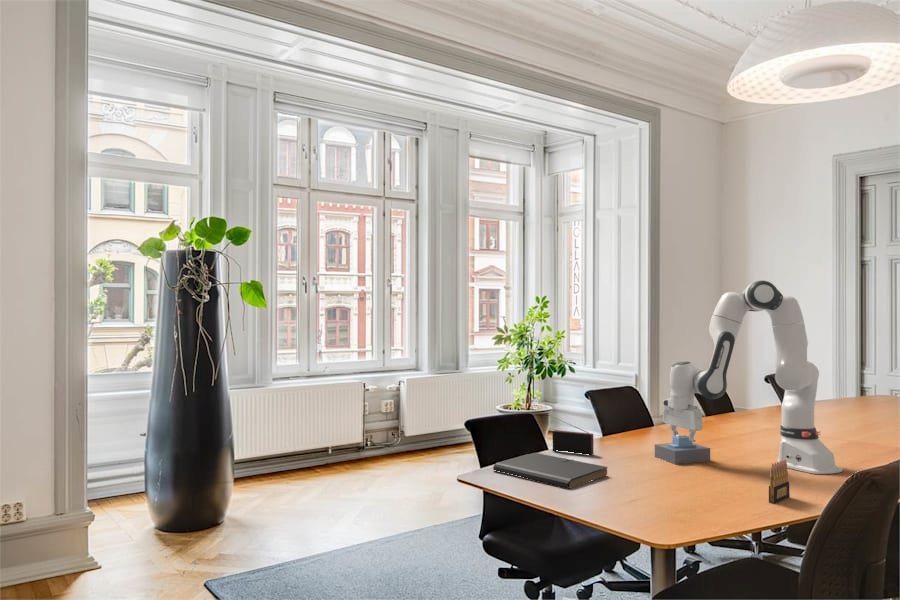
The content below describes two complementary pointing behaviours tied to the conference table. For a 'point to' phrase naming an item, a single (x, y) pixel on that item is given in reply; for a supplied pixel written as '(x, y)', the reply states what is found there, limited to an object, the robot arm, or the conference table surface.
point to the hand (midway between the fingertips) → (682, 438)
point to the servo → (681, 442)
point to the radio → (573, 441)
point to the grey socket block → (682, 453)
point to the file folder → (551, 469)
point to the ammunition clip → (779, 482)
